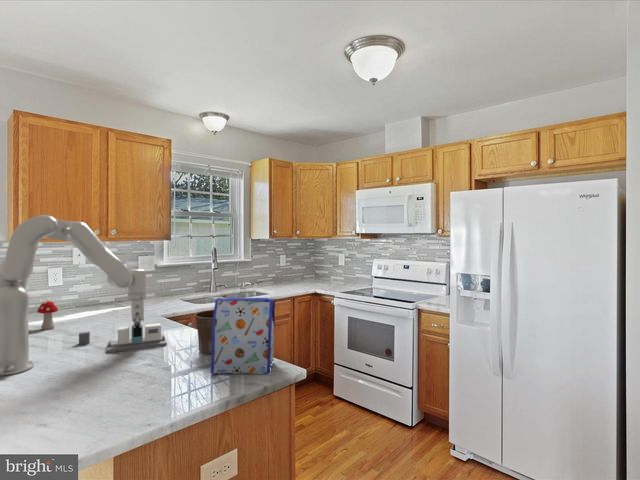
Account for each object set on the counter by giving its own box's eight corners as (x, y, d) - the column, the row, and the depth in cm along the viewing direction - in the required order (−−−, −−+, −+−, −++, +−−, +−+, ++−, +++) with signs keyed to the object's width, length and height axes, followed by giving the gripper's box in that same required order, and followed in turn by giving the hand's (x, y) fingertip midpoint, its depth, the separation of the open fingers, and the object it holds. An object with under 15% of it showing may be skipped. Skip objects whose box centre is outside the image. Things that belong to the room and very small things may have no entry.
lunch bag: (276, 360, 148) (276, 293, 148) (273, 375, 131) (273, 301, 131) (219, 361, 147) (219, 294, 147) (209, 377, 130) (208, 301, 130)
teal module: (142, 341, 167) (142, 326, 167) (131, 342, 165) (131, 327, 165) (142, 338, 172) (142, 324, 172) (131, 339, 170) (131, 325, 170)
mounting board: (166, 345, 168) (166, 342, 168) (106, 353, 157) (106, 350, 157) (164, 338, 181) (164, 335, 181) (108, 344, 170) (108, 341, 170)
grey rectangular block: (89, 343, 171) (89, 333, 171) (78, 345, 169) (78, 334, 169) (89, 342, 174) (89, 331, 174) (79, 343, 172) (79, 332, 172)
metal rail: (164, 340, 172) (164, 336, 172) (108, 346, 162) (108, 342, 162) (164, 338, 176) (164, 334, 176) (108, 344, 165) (108, 340, 165)
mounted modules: (161, 339, 171) (160, 325, 171) (117, 344, 163) (117, 330, 163) (160, 336, 176) (160, 323, 176) (118, 341, 168) (118, 327, 168)
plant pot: (240, 348, 164) (240, 312, 164) (213, 358, 150) (213, 319, 150) (214, 342, 172) (214, 308, 172) (186, 352, 158) (186, 315, 158)
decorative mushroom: (33, 329, 197) (33, 301, 197) (49, 326, 205) (49, 299, 205) (46, 331, 194) (46, 303, 193) (62, 327, 202) (62, 300, 202)
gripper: (146, 298, 163) (146, 338, 163) (145, 293, 178) (145, 329, 178) (127, 299, 159) (127, 340, 159) (128, 294, 175) (128, 331, 175)
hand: (137, 334), depth 169 cm, fingers open, 7 cm apart
